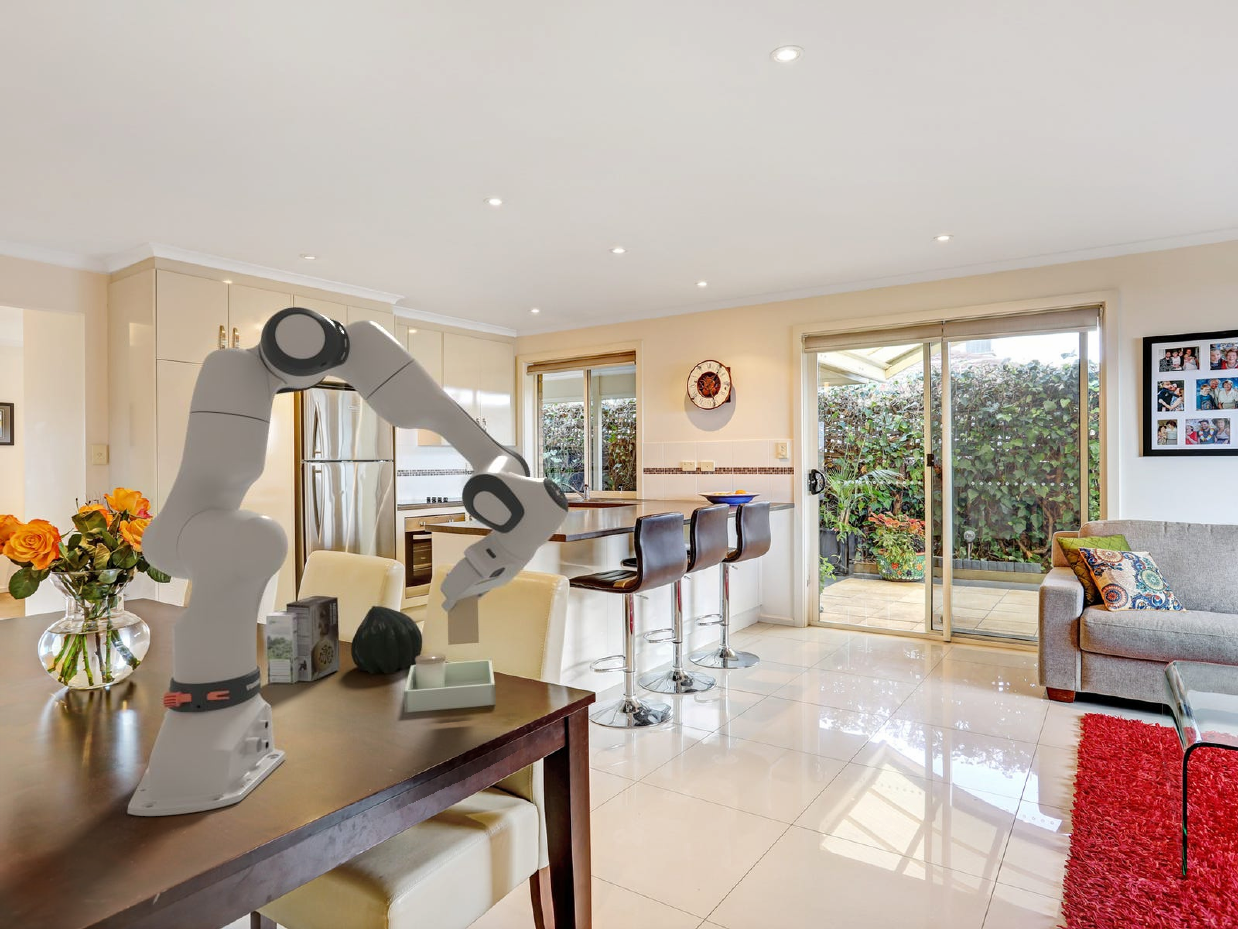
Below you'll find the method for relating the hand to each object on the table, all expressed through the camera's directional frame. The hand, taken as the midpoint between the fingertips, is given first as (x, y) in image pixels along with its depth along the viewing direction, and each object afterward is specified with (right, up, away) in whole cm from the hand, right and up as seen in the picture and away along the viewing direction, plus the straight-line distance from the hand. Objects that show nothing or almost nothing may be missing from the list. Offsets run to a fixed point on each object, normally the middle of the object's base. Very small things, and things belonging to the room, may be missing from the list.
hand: (460, 603), depth 136 cm
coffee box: (-36, -19, +19) cm, 45 cm away
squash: (-21, -19, +22) cm, 36 cm away
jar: (-7, -18, +7) cm, 21 cm away
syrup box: (-40, -20, +16) cm, 47 cm away
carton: (+1, -7, 0) cm, 7 cm away
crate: (-2, -19, +3) cm, 19 cm away
